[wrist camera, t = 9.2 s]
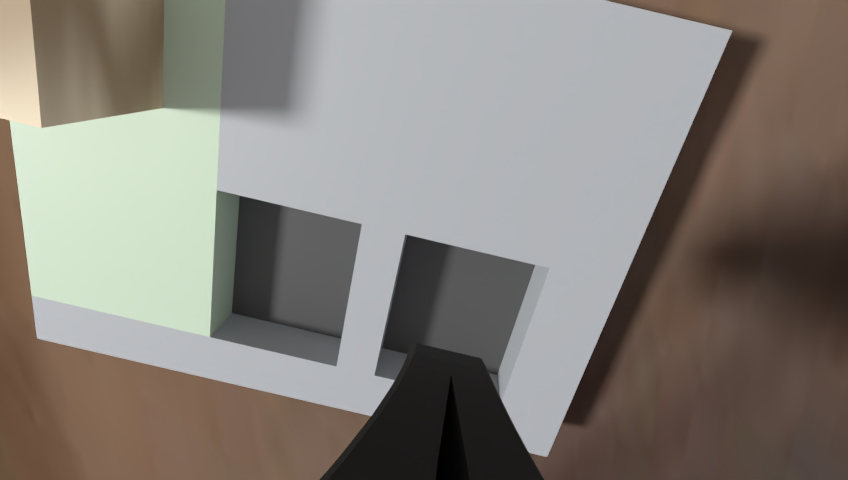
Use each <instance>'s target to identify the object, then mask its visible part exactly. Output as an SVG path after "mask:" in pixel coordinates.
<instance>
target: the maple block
mask: <svg viewBox="0 0 848 480" xmlns="http://www.w3.org/2000/svg"><path fill="white" fill-rule="evenodd" d="M163 60H164V0H0V118H2V119H7V120H11V121H15V122H19V123H23V124H27V125H31V126H35V127H39V128H45V127H51V126H57V125H63V124H69V123H76V122H82V121H88V120H94V119H100V118H106V117H112V116H118V115H124V114H130V113H136V112H142V111H149V110H155V109H161V108H163Z"/></svg>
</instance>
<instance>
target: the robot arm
mask: <svg viewBox="0 0 848 480" xmlns="http://www.w3.org/2000/svg"><path fill="white" fill-rule="evenodd" d="M320 480H544V479H543V477H542V475H541V474H540V472H539V470H538V468H537V467H536V465H535V463H534V461H533V459H532V458H531V456H530V454H529V452H528V450H527V448H526V447H525V445H524V443H523V441H522V439H521V437H520V435H519V434H518V432H517V430H516V428H515V426H514V424H513V422H512V420H511V418H510V416H509V414H508V412H507V410H506V408H505V406H504V404H503V402H502V400H501V398H500V396H499V394H498V392H497V389H496V387H495V385H494V383H493V381H492V379H491V376H490V374H489V372H488V370H487V368H486V365H485V364H484V362H483V360H482V359H481V358H478V357H474V356H470V355H465V354H461V353H457V352H453V351H448V350H444V349H440V348H436V347H431V346H427V345H423V344H418V343H416V344H414V345H412V346H410V347H409V350H408V354H407V357H406V359H405V362H404V364H403V366H402V368H401V370H400V372H399V374H398V376H397V377H396V379H395V381H394V383H393V384H392V386H391V388H390V389H389V391H388V392H387V394H386V395H385V397H384V398H383V400H382V401H381V403H380V404H379V406H378V407H377V409H376V410H375V412H374V413H373V415H372V416H371V417H370V419H369V420H368V421H367V423H366V424H365V425H364V427H363V428H362V429H361V430H360V432H359V433H358V434H357V435H356V437H355V438H354V439H353V440H352V442H351V443H350V444H349V446H348V447H347V448H346V449H345V451H344V452H343V453H342V454H341V456H340V457H339V458H338V459H337V460H336V462H335V463H334V464H333V465H332V466H331V467H330V468H329V470H328V471H327V472H326V473H325V474H324V475H323V476H322V478H321V479H320Z"/></svg>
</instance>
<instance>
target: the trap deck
mask: <svg viewBox="0 0 848 480" xmlns="http://www.w3.org/2000/svg"><path fill="white" fill-rule="evenodd" d="M731 33H732V30H727V29H723V28H719V27H715V26H711V25H706V24H702V23H698V22H694V21H690V20H686V19H681V18H677V17H673V16H669V15H665V14H660V13H656V12H652V11H648V10H644V9H639V8H635V7H631V6H627V5H623V4H618V3H614V2H610V1H606V0H164V60H163V108H161V109H155V110H149V111H142V112H136V113H130V114H124V115H118V116H112V117H106V118H100V119H94V120H88V121H82V122H76V123H69V124H63V125H57V126H51V127H45V128H39V127H35V126H31V125H27V124H23V123H19V122H15V121H11V120H10V126H11V134H12V142H13V150H14V158H15V166H16V174H17V182H18V190H19V198H20V206H21V214H22V222H23V230H24V238H25V246H26V254H27V262H28V270H29V278H30V286H31V293H32V301H33V309H34V317H35V325H36V333H37V339H42V340H46V341H50V342H55V343H59V344H63V345H68V346H72V347H76V348H81V349H85V350H89V351H93V352H98V353H102V354H106V355H111V356H115V357H119V358H124V359H128V360H132V361H137V362H141V363H145V364H149V365H154V366H158V367H162V368H167V369H171V370H175V371H180V372H184V373H188V374H192V375H197V376H201V377H205V378H210V379H214V380H218V381H223V382H227V383H231V384H236V385H240V386H244V387H248V388H253V389H257V390H261V391H266V392H270V393H274V394H279V395H283V396H287V397H291V398H296V399H300V400H304V401H309V402H313V403H317V404H322V405H326V406H330V407H335V408H339V409H343V410H347V411H352V412H356V413H360V414H365V415H369V416H372V415H373V413H374V412H375V410H376V409H377V407H378V406H379V404H380V403H381V401H382V400H383V398H384V397H385V395H386V394H387V392H388V391H389V389H390V388H391V386H392V384H393V383H394V381H395V379H396V377H397V376H398V374H399V372H400V370H401V368H402V366H403V364H404V362H405V359H406V357H407V354H408V350H409V347H410V346H412V345H414V344H416V343H418V344H423V345H427V346H431V347H436V348H440V349H444V350H448V351H453V352H457V353H461V354H465V355H470V356H474V357H478V358H481V359H482V360H483V362H484V364H485V365H486V368H487V370H488V372H489V374H490V376H491V379H492V381H493V383H494V385H495V387H496V389H497V392H498V394H499V396H500V398H501V400H502V402H503V404H504V406H505V408H506V410H507V412H508V414H509V416H510V418H511V420H512V422H513V424H514V426H515V428H516V430H517V432H518V434H519V435H520V437H521V439H522V441H523V443H524V445H525V447H526V448H527V450H528V452H529V453H533V454H537V455H541V456H546V457H547V456H548V454H549V451H550V449H551V447H552V444H553V442H554V440H555V437H556V435H557V433H558V431H559V428H560V426H561V424H562V421H563V419H564V417H565V414H566V412H567V410H568V408H569V405H570V403H571V401H572V398H573V396H574V394H575V392H576V389H577V387H578V385H579V382H580V380H581V378H582V375H583V373H584V371H585V369H586V366H587V364H588V362H589V359H590V357H591V355H592V352H593V350H594V348H595V346H596V343H597V341H598V339H599V336H600V334H601V332H602V329H603V327H604V325H605V323H606V320H607V318H608V316H609V313H610V311H611V309H612V306H613V304H614V302H615V300H616V297H617V295H618V293H619V290H620V288H621V286H622V283H623V281H624V279H625V277H626V274H627V272H628V270H629V267H630V265H631V263H632V260H633V258H634V256H635V254H636V251H637V249H638V247H639V244H640V242H641V240H642V237H643V235H644V233H645V231H646V228H647V226H648V224H649V221H650V219H651V217H652V214H653V212H654V210H655V208H656V205H657V203H658V201H659V198H660V196H661V194H662V191H663V189H664V187H665V185H666V182H667V180H668V178H669V175H670V173H671V171H672V168H673V166H674V164H675V162H676V159H677V157H678V155H679V152H680V150H681V148H682V146H683V143H684V141H685V139H686V136H687V134H688V132H689V129H690V127H691V125H692V123H693V120H694V118H695V116H696V113H697V111H698V109H699V106H700V104H701V102H702V100H703V97H704V95H705V93H706V90H707V88H708V86H709V83H710V81H711V79H712V77H713V74H714V72H715V70H716V67H717V65H718V63H719V60H720V58H721V56H722V54H723V51H724V49H725V47H726V44H727V42H728V40H729V37H730V35H731Z"/></svg>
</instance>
